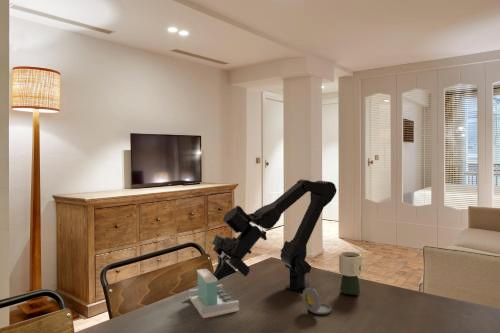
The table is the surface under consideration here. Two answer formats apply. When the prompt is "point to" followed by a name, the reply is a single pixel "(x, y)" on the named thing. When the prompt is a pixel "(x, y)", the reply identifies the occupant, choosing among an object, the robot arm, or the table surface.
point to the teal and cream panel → (207, 287)
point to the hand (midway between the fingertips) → (212, 281)
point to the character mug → (350, 272)
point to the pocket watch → (314, 301)
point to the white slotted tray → (222, 307)
